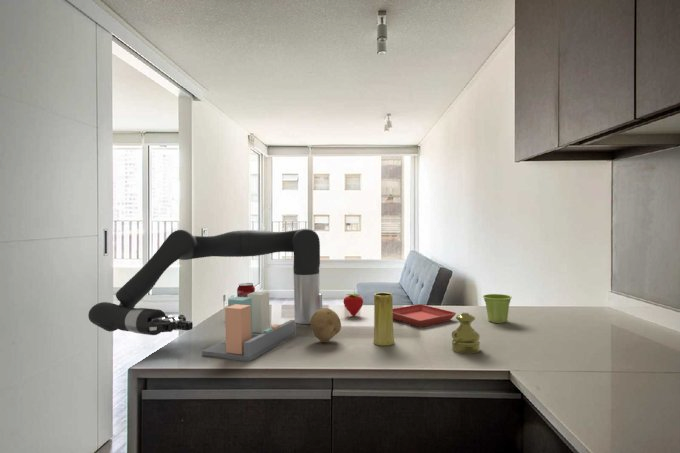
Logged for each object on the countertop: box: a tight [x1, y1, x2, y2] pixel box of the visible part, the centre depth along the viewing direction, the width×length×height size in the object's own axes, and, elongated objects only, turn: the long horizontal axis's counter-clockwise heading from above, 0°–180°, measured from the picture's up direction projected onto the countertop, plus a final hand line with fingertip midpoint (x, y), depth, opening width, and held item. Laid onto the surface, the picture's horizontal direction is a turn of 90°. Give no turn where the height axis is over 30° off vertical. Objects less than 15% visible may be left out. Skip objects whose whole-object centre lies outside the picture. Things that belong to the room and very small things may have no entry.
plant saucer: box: [393, 303, 457, 328], centre depth 144 cm, size 18×18×3 cm
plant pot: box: [482, 293, 513, 324], centre depth 139 cm, size 9×9×9 cm
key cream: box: [248, 291, 271, 333], centre depth 128 cm, size 5×4×12 cm
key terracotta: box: [224, 304, 251, 354], centre depth 108 cm, size 5×4×12 cm
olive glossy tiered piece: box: [451, 312, 481, 355], centre depth 110 cm, size 7×7×10 cm
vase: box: [373, 292, 395, 347], centre depth 117 cm, size 6×6×14 cm
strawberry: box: [342, 290, 364, 317], centre depth 152 cm, size 6×8×10 cm
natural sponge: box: [309, 307, 342, 343], centre depth 120 cm, size 9×9×10 cm
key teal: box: [227, 296, 252, 338], centre depth 120 cm, size 5×4×12 cm
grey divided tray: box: [202, 319, 296, 362], centre depth 118 cm, size 15×25×6 cm, turn 158°
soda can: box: [236, 282, 256, 297], centre depth 157 cm, size 7×7×12 cm
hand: (190, 326), depth 114 cm, fingers closed
